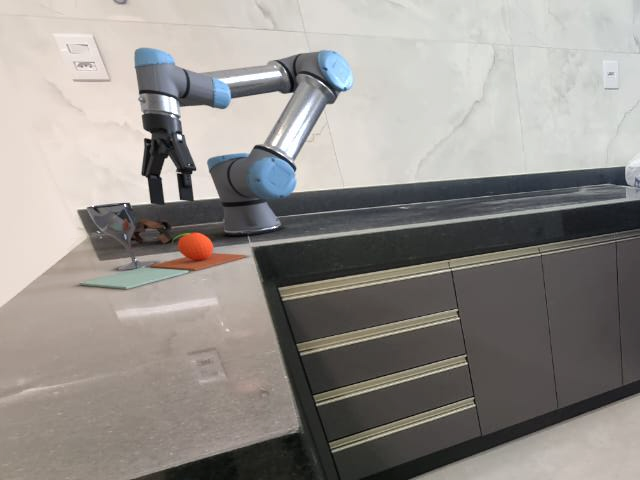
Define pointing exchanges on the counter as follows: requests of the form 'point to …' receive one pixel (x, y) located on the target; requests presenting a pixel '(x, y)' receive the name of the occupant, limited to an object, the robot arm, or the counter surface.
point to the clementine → (195, 246)
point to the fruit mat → (197, 262)
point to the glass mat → (134, 278)
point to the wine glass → (118, 227)
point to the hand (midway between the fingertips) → (172, 202)
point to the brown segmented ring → (154, 225)
